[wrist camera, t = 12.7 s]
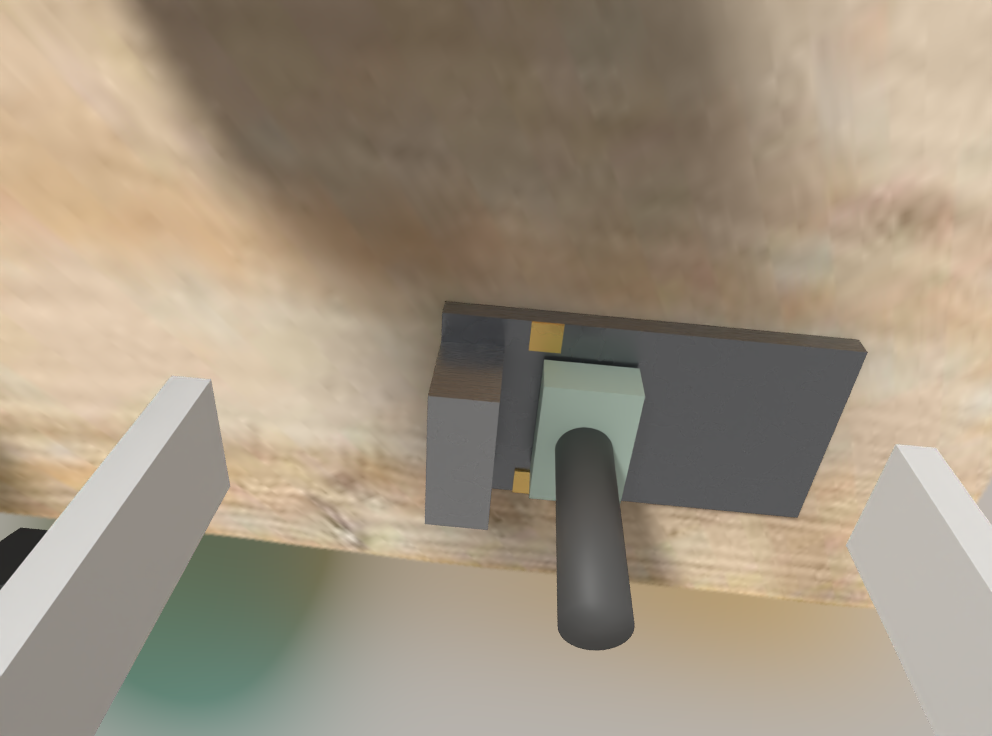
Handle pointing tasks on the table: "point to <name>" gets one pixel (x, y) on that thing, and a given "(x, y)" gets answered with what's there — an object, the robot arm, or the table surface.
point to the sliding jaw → (588, 493)
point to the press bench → (665, 414)
